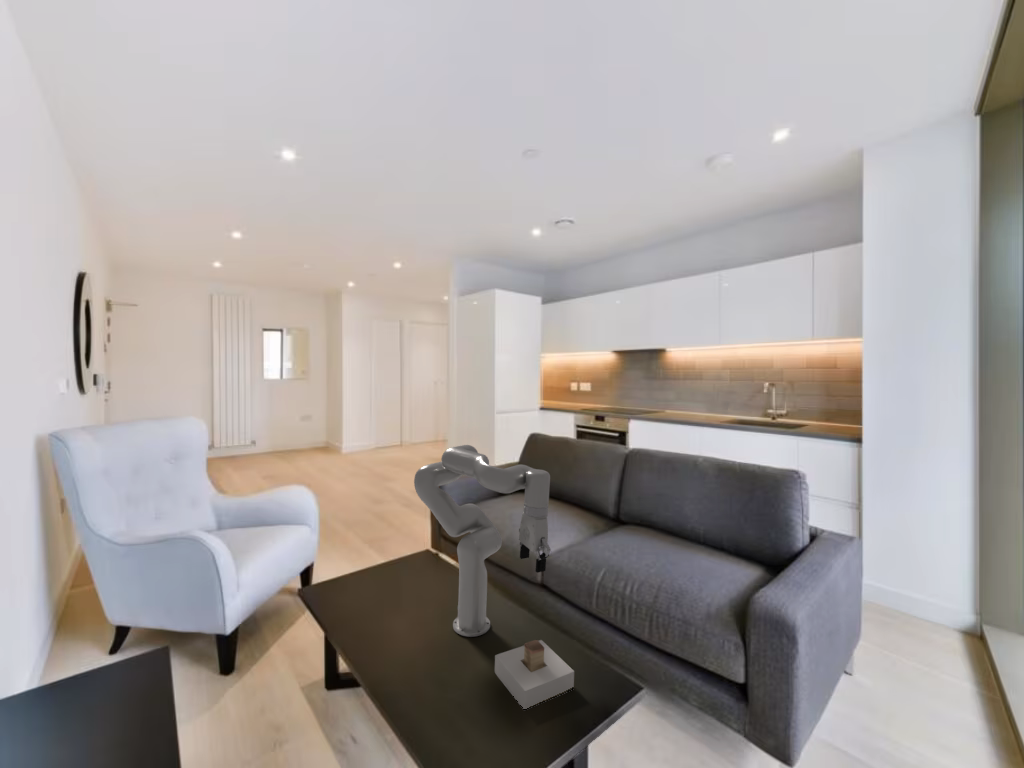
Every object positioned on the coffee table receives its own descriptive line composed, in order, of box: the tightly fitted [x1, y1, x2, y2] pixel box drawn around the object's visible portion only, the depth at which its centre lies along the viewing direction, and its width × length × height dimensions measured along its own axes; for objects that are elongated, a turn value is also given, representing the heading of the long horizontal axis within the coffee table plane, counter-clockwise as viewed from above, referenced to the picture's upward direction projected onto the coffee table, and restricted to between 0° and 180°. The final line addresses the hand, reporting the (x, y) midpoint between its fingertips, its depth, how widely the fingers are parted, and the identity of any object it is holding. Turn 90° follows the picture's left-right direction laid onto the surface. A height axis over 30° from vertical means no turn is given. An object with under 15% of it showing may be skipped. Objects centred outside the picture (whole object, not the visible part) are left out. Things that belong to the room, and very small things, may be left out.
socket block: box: [494, 639, 575, 710], centre depth 121 cm, size 16×16×5 cm
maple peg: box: [523, 639, 544, 672], centre depth 121 cm, size 4×4×10 cm
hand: (532, 564), depth 134 cm, fingers open, 9 cm apart
